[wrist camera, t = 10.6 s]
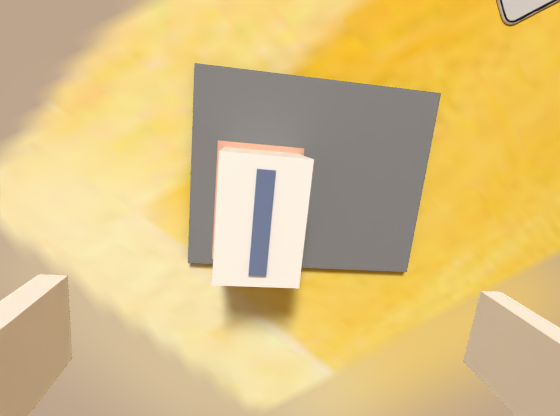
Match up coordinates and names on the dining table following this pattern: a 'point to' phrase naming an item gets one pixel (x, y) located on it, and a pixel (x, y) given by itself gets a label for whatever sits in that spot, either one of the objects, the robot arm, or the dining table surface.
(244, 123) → the mat
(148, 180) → the dining table surface
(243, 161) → the white box
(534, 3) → the smartphone
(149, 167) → the dining table surface
